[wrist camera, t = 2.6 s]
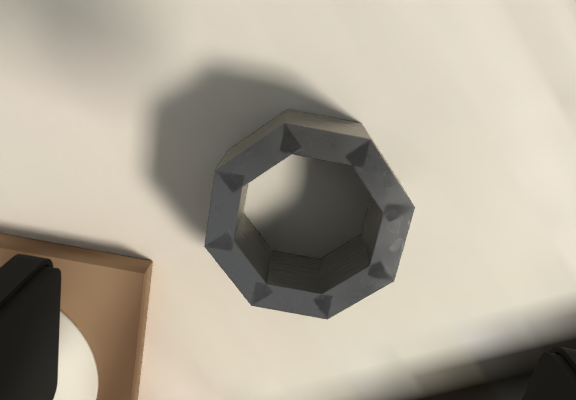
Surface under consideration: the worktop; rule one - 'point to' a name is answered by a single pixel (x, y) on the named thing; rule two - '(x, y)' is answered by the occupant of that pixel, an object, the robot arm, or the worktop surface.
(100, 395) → the post block
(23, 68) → the worktop surface
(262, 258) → the ring
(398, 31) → the worktop surface
